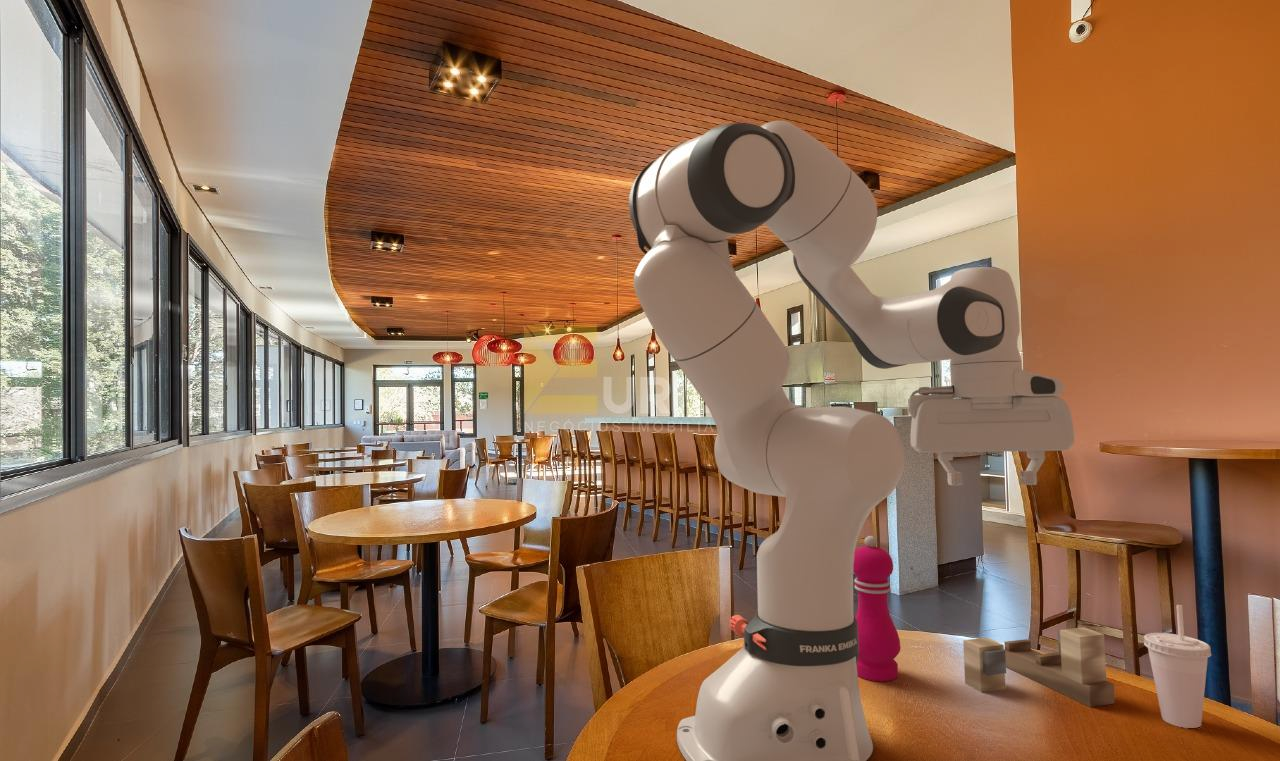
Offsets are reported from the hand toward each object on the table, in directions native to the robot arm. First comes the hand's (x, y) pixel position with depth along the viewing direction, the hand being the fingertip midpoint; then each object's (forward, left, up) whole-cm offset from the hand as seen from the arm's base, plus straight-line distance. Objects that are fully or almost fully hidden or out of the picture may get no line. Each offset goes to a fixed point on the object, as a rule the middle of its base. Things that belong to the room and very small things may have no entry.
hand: (991, 484), depth 89 cm
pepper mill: (-12, +11, -28) cm, 33 cm away
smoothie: (+15, -12, -28) cm, 34 cm away
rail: (+10, +1, -28) cm, 30 cm away
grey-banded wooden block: (0, +3, -28) cm, 28 cm away
